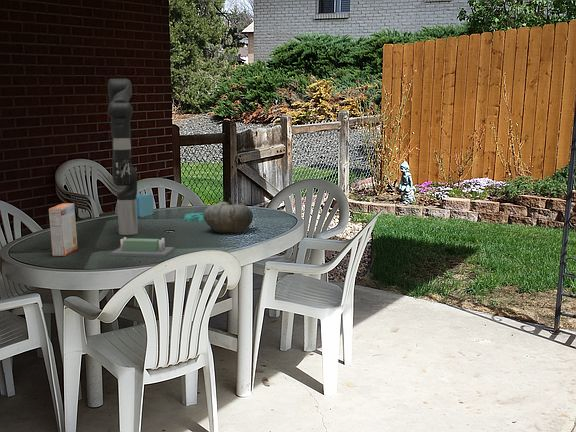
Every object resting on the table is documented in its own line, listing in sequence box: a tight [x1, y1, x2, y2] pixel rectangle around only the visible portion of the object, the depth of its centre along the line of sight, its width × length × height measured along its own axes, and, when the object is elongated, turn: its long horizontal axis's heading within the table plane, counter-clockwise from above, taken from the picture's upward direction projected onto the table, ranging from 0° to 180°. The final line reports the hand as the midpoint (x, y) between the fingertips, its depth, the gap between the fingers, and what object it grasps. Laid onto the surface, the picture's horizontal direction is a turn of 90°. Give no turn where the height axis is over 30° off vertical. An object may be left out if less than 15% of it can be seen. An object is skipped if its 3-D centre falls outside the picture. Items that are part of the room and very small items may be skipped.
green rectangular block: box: [123, 237, 160, 252], centre depth 295 cm, size 5×14×4 cm, turn 82°
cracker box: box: [48, 202, 78, 257], centre depth 295 cm, size 14×6×21 cm, turn 174°
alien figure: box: [183, 212, 205, 224], centre depth 378 cm, size 20×2×20 cm
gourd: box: [202, 197, 254, 234], centre depth 342 cm, size 25×25×17 cm
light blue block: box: [136, 193, 155, 218], centre depth 387 cm, size 12×4×12 cm, turn 152°
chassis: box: [109, 236, 175, 258], centre depth 295 cm, size 14×24×6 cm, turn 82°
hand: (123, 184), depth 305 cm, fingers open, 8 cm apart
